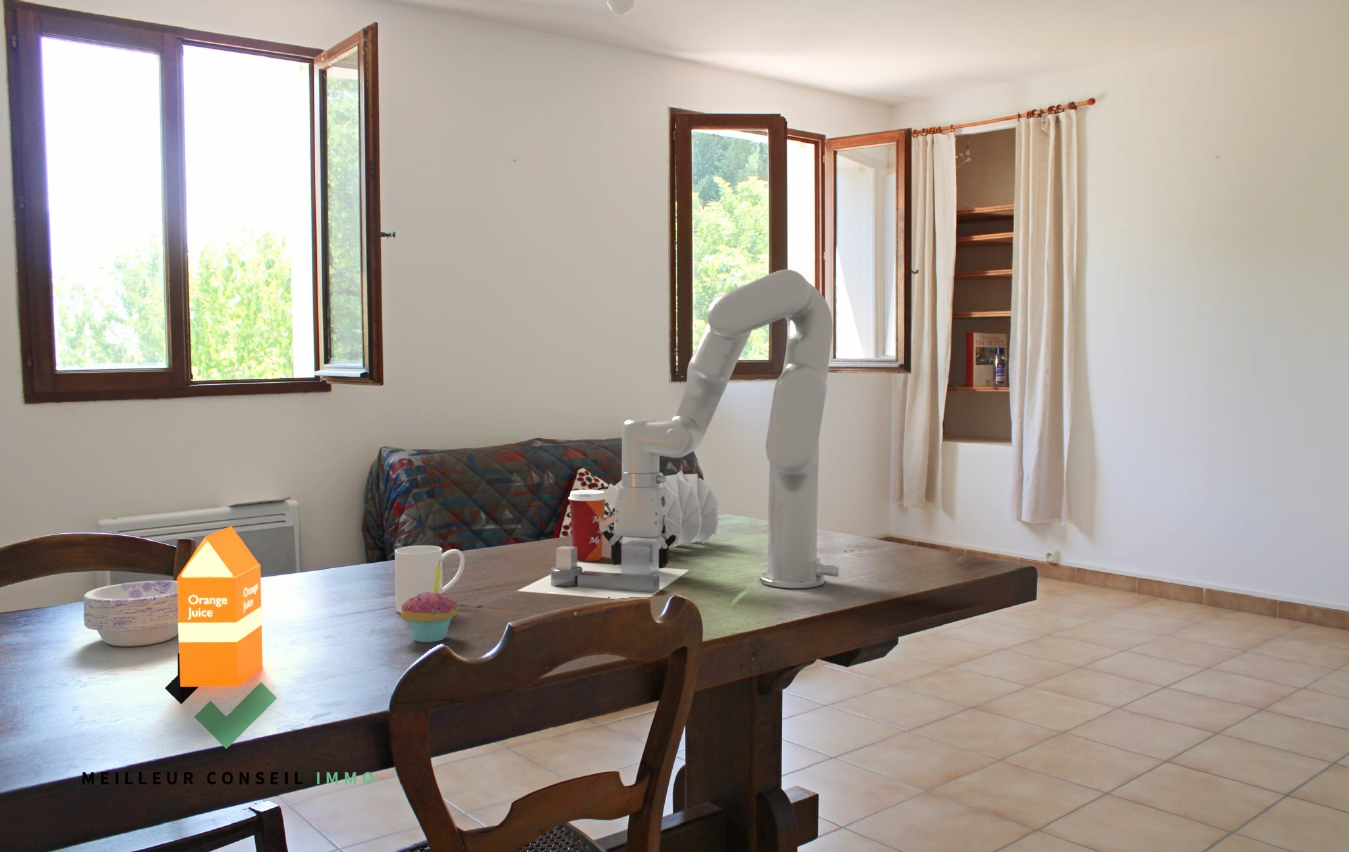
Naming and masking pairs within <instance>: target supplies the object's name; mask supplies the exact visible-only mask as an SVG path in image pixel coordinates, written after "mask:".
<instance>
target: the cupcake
mask: <svg viewBox="0 0 1349 852" xmlns="http://www.w3.org/2000/svg"><path fill="white" fill-rule="evenodd" d="M440 561H441V560H439V564H438V565H437V566H436V575H435V584H434V592H433V593H429V592H428V593H427V592H425V593H422V594H418V596H415V597H413V598H411V599H409V600H408V601H406V602H405V603H404V604H403V605H402V611H401V613H400V617H401V619H402V620H404V621H406V623H407V624H408V626H409V628H410V631H411V634H412V637H413V640H414V641H416V642H419V643H436V642H440V641H443V640H444V639H445V638H446V637H447V633H448V629H449V626H450V623H451V621H452V619H453V617H455V616H456V615H457V614H458V604H457V603H456V601H455V600H453V598H452V597H451V596H448V595H446V593H444V592H443V593H438V586H439V578H440V569H441V566H440Z"/></svg>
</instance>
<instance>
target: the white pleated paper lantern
mask: <svg viewBox="0 0 1349 852" xmlns="http://www.w3.org/2000/svg"><path fill="white" fill-rule="evenodd" d="M660 474H661V475H662V476H664V474H663V472H660ZM665 476H666V482H665V483H661V484H660V485H659V487H662V488H663V489H664V493H665V500H666V509H667V518H669V519H671V520H672V521H674V522H676V523H677V524H679V525H681V526H682V530H681V532H680V534H679V536H678V538H677V540H676V541H675V542H674V543H672V544H671V546H669V550H670V549H671V548H672V547H673V548H674V547H678V546H681V545H683V544H685V545H686V546H690V545H691V544H692V543H698V542H701V543H702V545H703V544H704V545H705V543H706V542H707V541H708V540H709V539H710V538H711V537H712V535H716V534H717V530H718V526H719V521H720V517H719V513H718V511H719V510H718V509H719V508H718V507H719V506H720V505H719V502H718V501H717V499H716V497H715V494H714V492H713V490H712V487H713V486H712V485H711V484H709V483H707V482H706V481H704V480H703V479H702V478H701V477H699V474H698V473H691V474H690V473H685V474H684V472H683V470H679V472H677V473H676V474H670V475H665ZM620 486H622V479H620V481H619V482H617V483H616V484H615V485H613V484H612V483H609V485H608V488H607V490H606V492H605V496H606V499H605V503H608V504H609V506H611V507H613V509H615V506H616V499H617V493H618V489H619V487H620ZM672 532H673V530H672V529H671V528H669V527H668V526H667V533H666V534H665V535H666V536H667V538H669V537H670V536H671V534H672ZM631 540H641V541H657V540H656V539H655V538H654V539H650V538H634V537H622V539H621V544H625V543H627V542H629V541H631ZM660 548H661V546H660Z"/></svg>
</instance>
